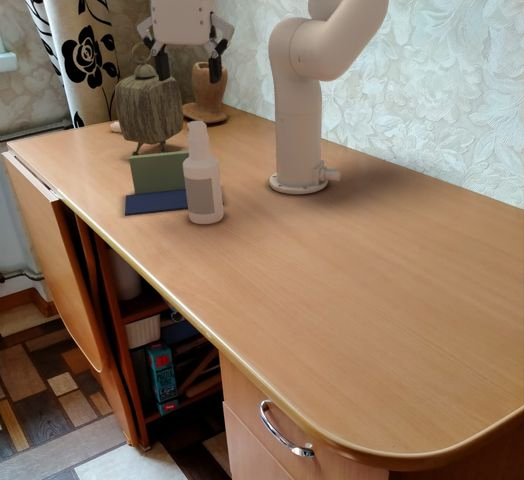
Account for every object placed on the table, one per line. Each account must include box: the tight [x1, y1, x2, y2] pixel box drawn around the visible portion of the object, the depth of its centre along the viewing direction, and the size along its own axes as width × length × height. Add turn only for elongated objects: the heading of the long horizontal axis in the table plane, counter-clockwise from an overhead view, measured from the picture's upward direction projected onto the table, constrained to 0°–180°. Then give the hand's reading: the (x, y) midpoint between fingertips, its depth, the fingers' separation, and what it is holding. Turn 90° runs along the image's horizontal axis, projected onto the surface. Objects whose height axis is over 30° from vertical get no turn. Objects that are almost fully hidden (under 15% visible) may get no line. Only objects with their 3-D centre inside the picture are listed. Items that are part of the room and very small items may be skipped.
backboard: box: [128, 150, 189, 194], centre depth 123 cm, size 2×16×8 cm, turn 100°
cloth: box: [124, 189, 224, 216], centre depth 120 cm, size 10×20×1 cm, turn 100°
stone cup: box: [182, 61, 229, 124], centre depth 162 cm, size 15×12×15 cm
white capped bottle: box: [183, 120, 225, 225], centre depth 108 cm, size 7×7×18 cm
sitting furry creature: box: [109, 121, 122, 134], centre depth 158 cm, size 10×9×12 cm
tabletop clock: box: [114, 41, 184, 156], centre depth 137 cm, size 14×9×25 cm, turn 149°
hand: (189, 80), depth 99 cm, fingers open, 9 cm apart
